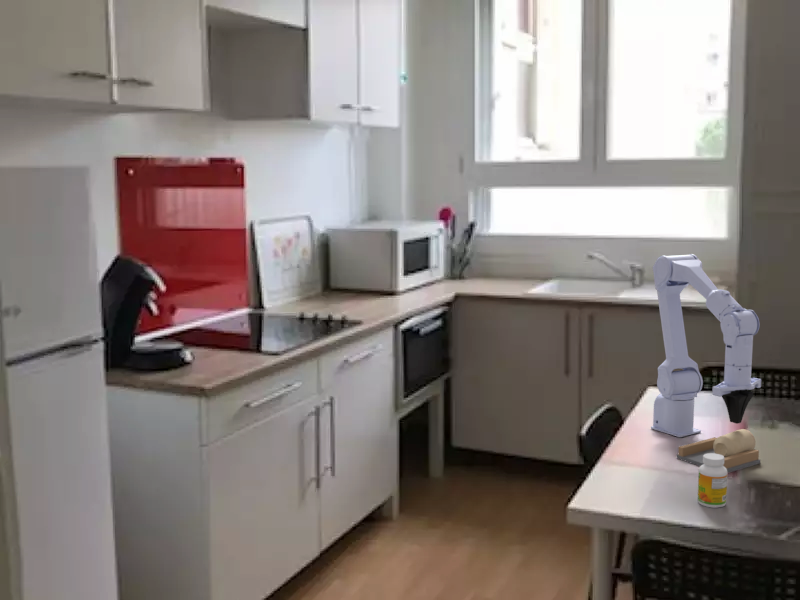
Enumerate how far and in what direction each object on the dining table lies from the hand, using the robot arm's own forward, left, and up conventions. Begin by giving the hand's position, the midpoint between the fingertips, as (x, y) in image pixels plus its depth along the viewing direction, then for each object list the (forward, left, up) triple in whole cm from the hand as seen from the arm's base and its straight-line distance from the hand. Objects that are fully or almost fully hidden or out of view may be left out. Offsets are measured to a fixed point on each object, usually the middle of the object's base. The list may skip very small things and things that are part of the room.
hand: (735, 422), depth 210 cm
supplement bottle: (+16, -28, -8) cm, 33 cm away
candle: (+1, +2, -4) cm, 5 cm away
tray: (0, -6, -8) cm, 10 cm away
